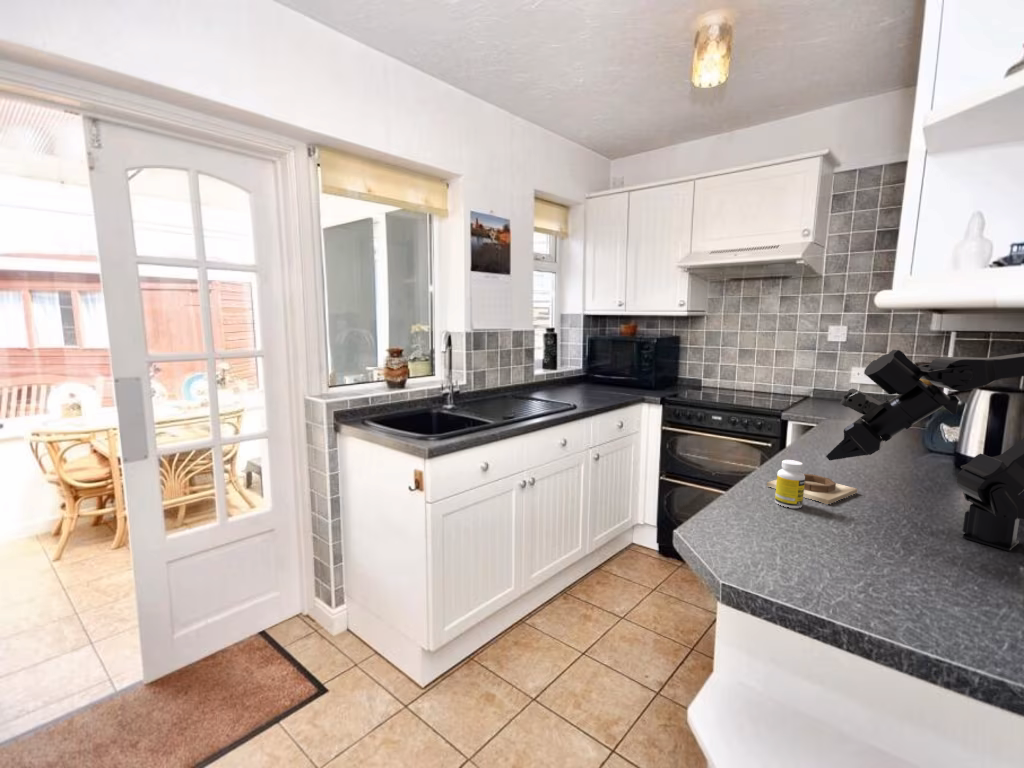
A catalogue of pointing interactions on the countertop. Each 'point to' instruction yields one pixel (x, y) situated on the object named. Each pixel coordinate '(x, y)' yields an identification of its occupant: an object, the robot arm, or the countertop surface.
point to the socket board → (824, 496)
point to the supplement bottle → (790, 484)
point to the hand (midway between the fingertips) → (833, 454)
